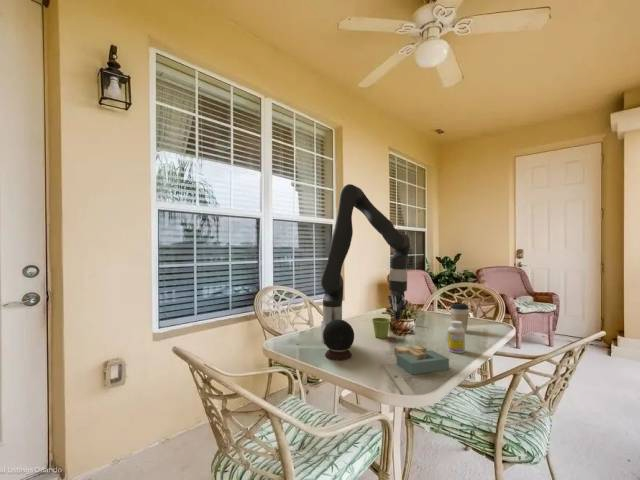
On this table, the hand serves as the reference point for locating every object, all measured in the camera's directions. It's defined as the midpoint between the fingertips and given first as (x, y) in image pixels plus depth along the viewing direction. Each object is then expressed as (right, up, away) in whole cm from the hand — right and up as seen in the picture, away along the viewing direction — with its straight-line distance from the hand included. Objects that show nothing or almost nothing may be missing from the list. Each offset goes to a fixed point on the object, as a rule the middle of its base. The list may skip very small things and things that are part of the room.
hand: (397, 319), depth 138 cm
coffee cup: (+41, -15, +33) cm, 55 cm away
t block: (+4, -14, -12) cm, 19 cm away
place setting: (+14, -16, +36) cm, 42 cm away
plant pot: (-2, -15, +23) cm, 27 cm away
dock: (+5, -14, -15) cm, 21 cm away
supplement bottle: (+26, -14, +1) cm, 30 cm away
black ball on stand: (-25, -14, -4) cm, 29 cm away
